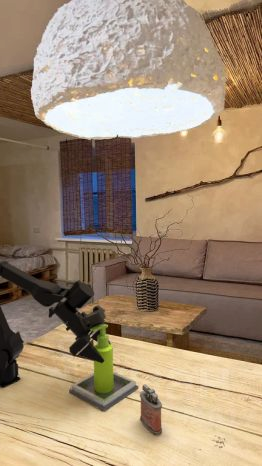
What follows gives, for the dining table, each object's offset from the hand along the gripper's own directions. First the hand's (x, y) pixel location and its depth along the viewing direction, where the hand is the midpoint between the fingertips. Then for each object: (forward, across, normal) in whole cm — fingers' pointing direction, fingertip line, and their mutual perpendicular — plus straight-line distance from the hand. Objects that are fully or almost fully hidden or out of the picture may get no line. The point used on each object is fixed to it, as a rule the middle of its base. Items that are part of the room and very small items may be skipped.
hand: (107, 354), depth 104 cm
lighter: (+19, -14, -2) cm, 24 cm away
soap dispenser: (+7, 0, +9) cm, 11 cm away
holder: (+7, 0, +9) cm, 12 cm away
